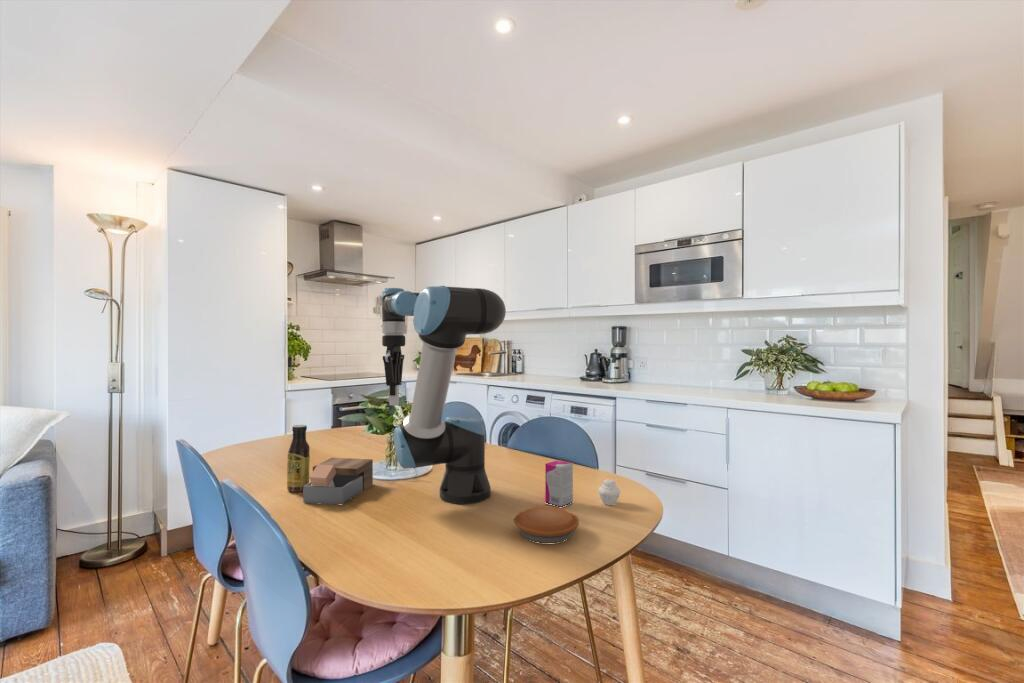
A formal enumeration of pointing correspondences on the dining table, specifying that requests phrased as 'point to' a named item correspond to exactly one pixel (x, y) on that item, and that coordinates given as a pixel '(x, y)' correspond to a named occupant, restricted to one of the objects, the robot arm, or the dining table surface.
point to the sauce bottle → (298, 460)
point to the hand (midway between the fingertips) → (394, 404)
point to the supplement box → (559, 483)
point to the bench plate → (353, 468)
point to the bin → (334, 490)
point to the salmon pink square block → (322, 475)
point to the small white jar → (609, 492)
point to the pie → (546, 524)
